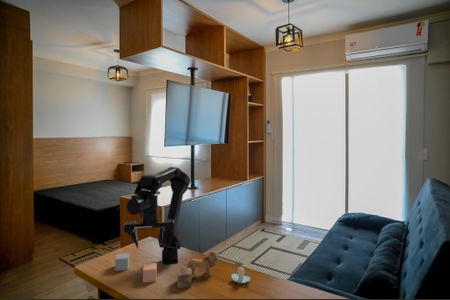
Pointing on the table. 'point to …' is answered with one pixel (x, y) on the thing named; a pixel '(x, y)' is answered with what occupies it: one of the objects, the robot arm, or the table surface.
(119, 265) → the slate grey block
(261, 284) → the table surface
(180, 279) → the walnut block
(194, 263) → the lion figurine
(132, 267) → the table surface
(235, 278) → the pacifier
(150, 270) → the terracotta block
